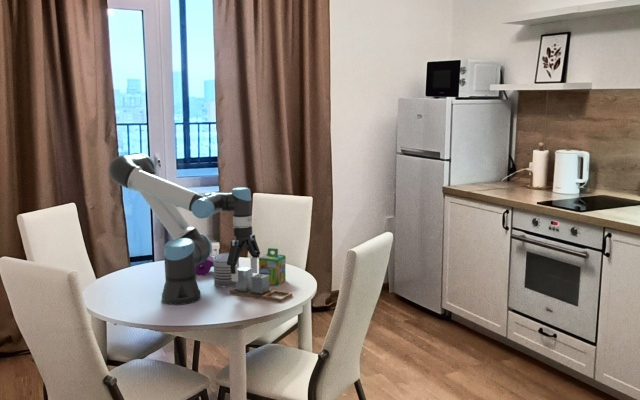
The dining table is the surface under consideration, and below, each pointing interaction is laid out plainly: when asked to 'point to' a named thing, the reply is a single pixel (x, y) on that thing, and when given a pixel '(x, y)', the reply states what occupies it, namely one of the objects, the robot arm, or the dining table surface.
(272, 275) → the chalk box
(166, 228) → the robot arm
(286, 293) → the wooden ladder rack
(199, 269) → the mounting bracket
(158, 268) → the dining table surface
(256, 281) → the gray square block
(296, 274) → the dining table surface
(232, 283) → the can
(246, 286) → the grey square block
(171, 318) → the dining table surface
